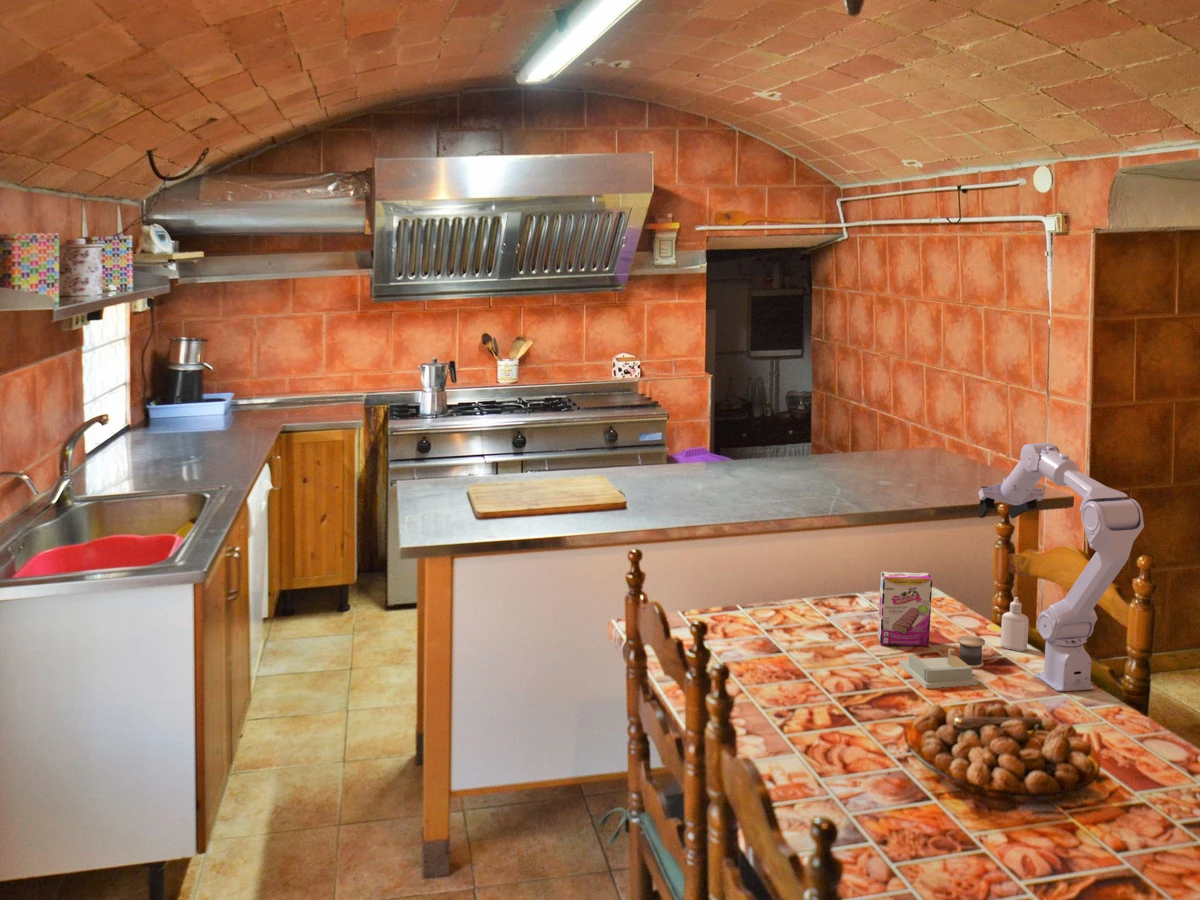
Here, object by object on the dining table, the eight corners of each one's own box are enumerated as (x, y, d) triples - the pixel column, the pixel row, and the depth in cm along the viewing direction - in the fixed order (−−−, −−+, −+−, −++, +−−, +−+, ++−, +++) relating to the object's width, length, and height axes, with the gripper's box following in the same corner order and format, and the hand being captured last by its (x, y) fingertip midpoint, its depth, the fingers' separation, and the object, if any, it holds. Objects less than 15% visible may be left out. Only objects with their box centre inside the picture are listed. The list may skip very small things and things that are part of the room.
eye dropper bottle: (1014, 653, 253) (1017, 602, 251) (997, 645, 258) (999, 595, 256) (1030, 650, 254) (1033, 599, 252) (1012, 643, 260) (1015, 592, 257)
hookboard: (978, 685, 235) (979, 664, 234) (925, 688, 233) (926, 668, 232) (948, 661, 248) (949, 641, 248) (899, 664, 247) (899, 645, 246)
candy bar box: (880, 646, 259) (882, 577, 256) (877, 638, 263) (879, 571, 261) (930, 647, 257) (933, 578, 255) (926, 640, 262) (929, 571, 260)
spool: (988, 667, 245) (989, 643, 244) (963, 669, 244) (964, 645, 243) (976, 658, 250) (977, 634, 249) (952, 660, 249) (953, 636, 248)
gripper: (1046, 466, 250) (1019, 500, 261) (985, 465, 248) (961, 499, 259) (1056, 492, 246) (1029, 526, 257) (994, 491, 244) (969, 525, 255)
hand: (995, 514), depth 258 cm, fingers open, 7 cm apart
